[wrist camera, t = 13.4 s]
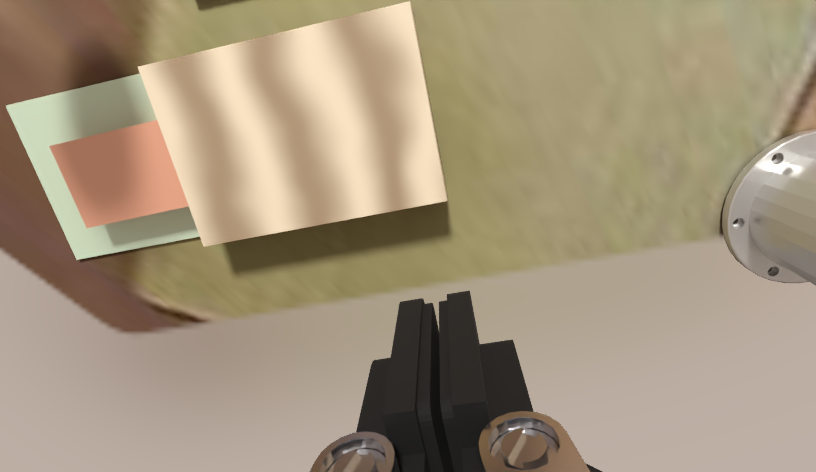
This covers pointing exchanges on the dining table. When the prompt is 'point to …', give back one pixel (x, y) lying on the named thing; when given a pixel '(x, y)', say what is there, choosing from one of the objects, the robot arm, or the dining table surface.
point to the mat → (83, 118)
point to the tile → (120, 174)
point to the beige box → (301, 126)
